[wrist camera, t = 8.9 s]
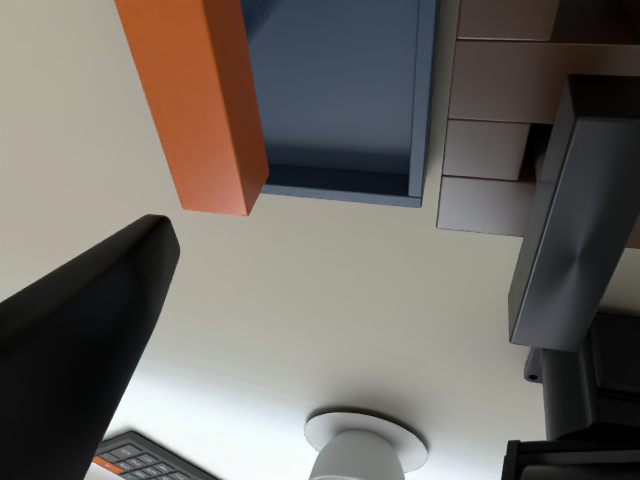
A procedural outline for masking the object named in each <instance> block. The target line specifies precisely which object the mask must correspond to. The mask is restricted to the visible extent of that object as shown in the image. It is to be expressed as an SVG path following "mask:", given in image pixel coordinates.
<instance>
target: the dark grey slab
mask: <svg viewBox="0 0 640 480" xmlns="http://www.w3.org/2000/svg"><path fill="white" fill-rule="evenodd" d="M531 129H532V140H533V151H534V162H535V174H536V185H537V189H536V193H535V197H534V201H533V204H532V208H531V212H530V216H529V220H528V223H527V227H526V231H525V235H524V238H523V242H522V246H521V250H520V253H519V257H518V261H517V265H516V268H515V272H514V276H513V280H512V283H511V287H510V291H509V295H508V309H509V341H510V343H512V344H518V345H525V346H532V347H539V348H546V349H553V350H560V351H567V352H574V353H576V352H578V350H579V348H580V346H581V344H582V342H583V339H584V337H585V335H586V333H587V331H588V328H589V326H590V324H591V322H592V320H593V317H594V315H595V313H596V311H597V309H598V306H599V304H600V302H601V300H602V298H603V295H604V293H605V291H606V289H607V287H608V284H609V282H610V280H611V278H612V276H613V274H614V271H615V269H616V267H617V265H618V263H619V260H620V258H621V256H622V254H623V252H624V249H625V247H626V245H627V243H628V241H629V238H630V236H631V234H632V232H633V230H634V227H635V225H636V223H637V221H638V219H639V216H640V76H618V75H592V74H568V76H567V77H566V80H565V84H564V88H563V92H562V95H561V99H560V103H559V107H558V110H557V114H556V118H555V122H554V124H544V123H531Z"/></svg>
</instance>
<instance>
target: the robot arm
mask: <svg viewBox="0 0 640 480" xmlns="http://www.w3.org/2000/svg"><path fill="white" fill-rule="evenodd" d="M179 256H180V246H179V242H178V240H177V237H176V234H175V232H174V229H173V226H172V223H171V221H170V219H169V218H168V217H167V216H164V215H154V214H148V215H145V216H143V217H141V218H140V219H138V220H136V221H135V222H133V223H131V224H130V225H128V226H127V227H125V228H123V229H122V230H120V231H118V232H117V233H115V234H113V235H112V236H110V237H108V238H107V239H105V240H103V241H102V242H100V243H98V244H97V245H95V246H93V247H92V248H90V249H89V250H87V251H85V252H84V253H82V254H80V255H79V256H77V257H75V258H74V259H72V260H70V261H69V262H67V263H65V264H64V265H62V266H60V267H59V268H57V269H55V270H54V271H52V272H50V273H49V274H47V275H45V276H44V277H42V278H41V279H39V280H37V281H36V282H34V283H32V284H31V285H29V286H27V287H26V288H24V289H22V290H21V291H19V292H17V293H16V294H14V295H12V296H11V297H9V298H7V299H6V300H4V301H2V302H1V303H0V480H84V477H85V475H86V473H87V471H88V469H89V467H90V465H91V463H92V460H93V458H94V456H95V454H96V452H97V450H98V448H99V445H100V443H101V441H102V439H103V437H104V435H105V433H106V431H107V428H108V426H109V424H110V422H111V420H112V418H113V416H114V413H115V411H116V409H117V407H118V405H119V403H120V401H121V399H122V396H123V394H124V392H125V390H126V388H127V386H128V384H129V381H130V379H131V377H132V375H133V373H134V371H135V369H136V366H137V364H138V362H139V360H140V358H141V356H142V354H143V352H144V349H145V347H146V345H147V343H148V341H149V339H150V337H151V334H152V332H153V330H154V328H155V325H156V323H157V321H158V318H159V315H160V313H161V310H162V307H163V304H164V301H165V298H166V295H167V292H168V289H169V286H170V283H171V280H172V277H173V275H174V272H175V269H176V266H177V263H178V260H179ZM524 378H525V379H526V380H528V381H530V382H536V383H542V384H543V396H544V410H545V424H546V438H547V441H527V442H521V441H520V440H509V441H508V445H507V452H506V455H505V457H504V463H503V470H502V478H501V480H640V318H639V317H632V316H624V315H616V314H608V313H600V312H596V313H595V315H594V317H593V320H592V322H591V324H590V326H589V328H588V331H587V333H586V335H585V337H584V339H583V342H582V344H581V346H580V348H579V350H578V352H576V353H574V352H567V351H560V350H553V349H546V348H539V347H532V349H531V352H530V355H529V358H528V360H527V363H526V366H525V369H524Z"/></svg>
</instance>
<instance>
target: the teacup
mask: <svg viewBox="0 0 640 480" xmlns="http://www.w3.org/2000/svg"><path fill="white" fill-rule="evenodd" d="M304 435H305V437H306V440H307V441H308V442H309V444H310V445H311V446H312V447H313V448H314V449H315V450H316V451H318V452H319V455H318V457H317V459H316V461H315V464H314V466H313V469H312V472H311V474H310V477H309V480H405V477H404V473H407V472H411V471H414V470H417V469H418V468H420V467H422V466H423V465H424V464H425V462H426V461H427V457H428V455H427V450H426V448H425V446H424V445H423V443H422V442H421V441H420V440H419V439H418V438H417V437H416V436H414V435H413V434H412V433H410V432H409V431H407V430H405V429H404V428H402V427H400V426H398V425H396V424H393V423H391V422H388V421H386V420H383V419H380V418H376V417H372V416H368V415H363V414H356V413H342V412H339V413H328V414H323V415H319V416H316V417H314V418H312V419H311V420H309V421H308V422H307V424H306V425H305V428H304Z"/></svg>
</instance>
